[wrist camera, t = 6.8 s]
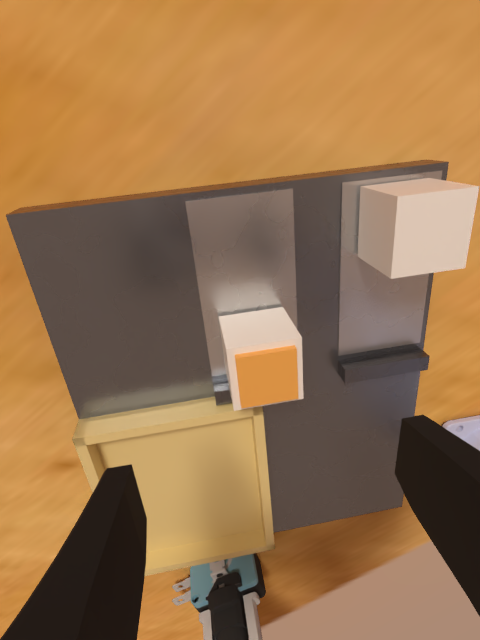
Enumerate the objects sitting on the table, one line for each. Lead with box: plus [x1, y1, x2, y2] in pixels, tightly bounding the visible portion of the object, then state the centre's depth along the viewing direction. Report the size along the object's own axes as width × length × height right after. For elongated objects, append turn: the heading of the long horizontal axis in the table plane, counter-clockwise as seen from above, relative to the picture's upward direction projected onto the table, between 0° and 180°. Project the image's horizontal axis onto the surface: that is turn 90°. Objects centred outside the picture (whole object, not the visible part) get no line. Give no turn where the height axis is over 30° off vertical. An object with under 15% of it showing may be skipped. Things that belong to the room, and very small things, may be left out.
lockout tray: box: [72, 397, 275, 576], centre depth 21 cm, size 9×11×1 cm
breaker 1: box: [219, 307, 304, 411], centre depth 17 cm, size 3×3×3 cm
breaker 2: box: [358, 178, 479, 279], centre depth 15 cm, size 3×3×3 cm
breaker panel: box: [6, 160, 449, 532], centre depth 20 cm, size 18×22×3 cm
